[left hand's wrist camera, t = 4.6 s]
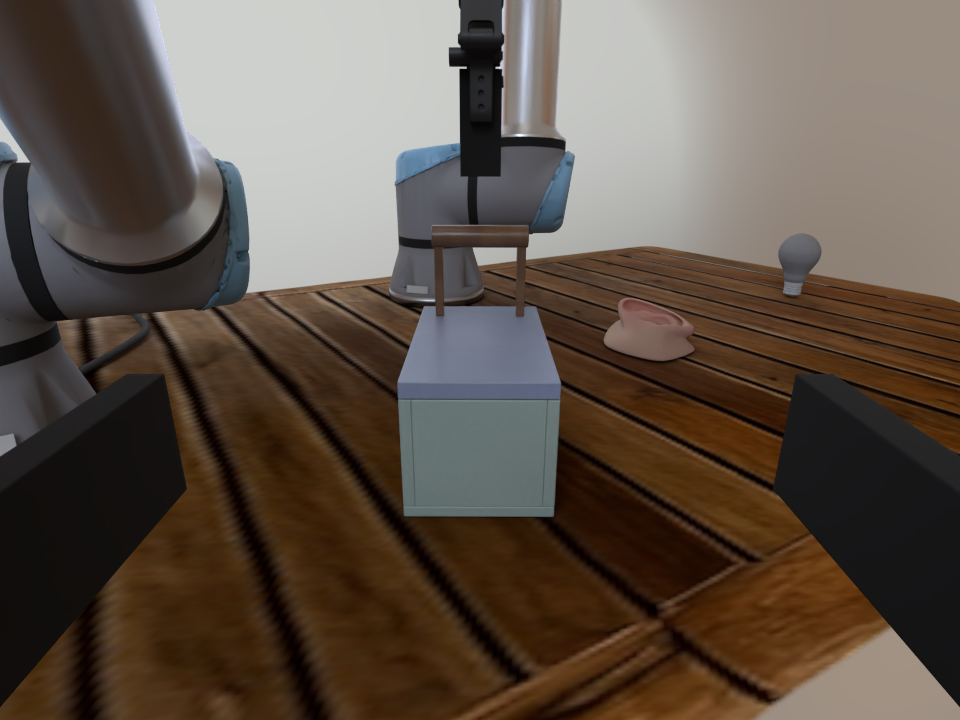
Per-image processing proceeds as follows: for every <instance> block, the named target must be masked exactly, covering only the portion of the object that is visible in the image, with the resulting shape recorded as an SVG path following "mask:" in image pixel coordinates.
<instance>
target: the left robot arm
mask: <svg viewBox="0 0 960 720" xmlns="http://www.w3.org/2000/svg"><path fill="white" fill-rule="evenodd" d="M0 119H1V120H2V121H3V123H4V124H5V126H6V127H7V129H8V130H9V132H10V133H11V135H12V136H13V138H14V139H15V140H16V142H17V143H18V145H19V146H20V148H21V149H22V151H23V152H24V154H25V155H26V157H27V158H28V160H29V161H30V163H16V161H17V155H16V154H15V153H14V152H13V151H12V150H11V148H10V146H9V145H8V144H6V143H4V142H0V707H1V706H2V704H3V703H4V702H5V701H6V700H7V699H8V697H9V696H10V695H11V694H12V693H13V692H14V690H15V689H16V688H17V687H18V686H19V685H20V683H21V682H22V681H23V680H24V679H25V678H26V676H27V675H28V674H29V673H30V672H31V671H32V669H33V668H34V667H35V666H36V665H37V663H38V662H39V661H40V660H41V659H42V658H43V656H44V655H45V654H46V653H47V652H48V651H49V649H50V648H51V647H52V646H53V645H54V644H55V642H56V641H57V640H58V639H59V638H60V637H61V635H62V634H63V633H64V632H65V631H66V630H67V628H68V627H69V626H70V625H71V624H72V623H73V621H74V620H75V619H76V618H77V617H78V616H79V614H80V613H81V612H82V611H83V610H84V609H85V607H86V606H87V605H88V604H89V603H90V601H91V600H92V599H93V598H94V597H95V596H96V594H97V593H98V592H99V591H100V590H101V589H102V587H103V586H104V585H105V584H106V583H107V582H108V580H109V579H110V578H111V577H112V576H113V575H114V573H115V572H116V571H117V570H118V569H119V568H120V566H121V565H122V564H123V563H124V562H125V561H126V559H127V558H128V557H129V556H130V555H131V554H132V552H133V551H134V550H135V549H136V548H137V547H138V545H139V544H140V543H141V542H142V541H143V540H144V538H145V537H146V536H147V535H148V534H149V532H150V531H151V530H152V529H153V528H154V527H155V525H156V524H157V523H158V522H159V521H160V520H161V518H162V517H163V516H164V515H165V514H166V513H167V511H168V510H169V509H170V508H171V507H172V506H173V504H174V503H175V502H176V501H177V500H178V499H179V497H180V496H181V495H182V494H183V493H184V492H185V490H186V489H187V487H186V482H185V477H184V472H183V467H182V462H181V457H180V452H179V447H178V442H177V437H176V432H175V427H174V422H173V417H172V412H171V407H170V402H169V397H168V392H167V387H166V382H165V377H164V374H127V375H125V376H124V377H122V378H120V379H119V380H117V381H116V382H114V383H113V384H111V385H110V386H108V387H107V388H105V389H103V390H102V391H100V392H99V393H97V394H96V393H95V391H94V390H93V388H92V387H91V386H90V384H89V383H88V381H87V380H86V379H85V377H84V376H83V375H85V374H87V373H88V372H90V371H92V370H94V369H96V368H97V367H99V366H101V365H103V364H104V363H106V362H108V361H110V360H111V359H113V358H115V357H116V356H118V355H119V354H121V353H122V352H124V351H126V350H127V349H129V348H130V347H132V346H133V345H135V344H137V343H138V342H139V341H141V340H142V339H143V338H144V337H145V336H146V335H147V333H148V332H149V324H148V322H147V321H146V320H145V319H144V318H143V317H142V316H141V314H140V313H152V312H164V311H175V310H187V309H195V310H198V311H200V310H205V309H209V308H211V307H214V306H222V305H229V304H233V303H236V302H238V301H239V300H240V299H242V298H243V296H244V295H245V293H246V291H247V287H248V282H249V271H250V259H249V253H248V250H249V227H248V215H247V206H246V199H245V193H244V187H243V182H242V178H241V175H240V173H239V171H238V169H237V168H236V167H235V166H234V165H233V164H232V163H230V162H227V161H220V160H218V159H215V158H213V157H212V156H211V154H210V153H209V152H208V150H207V149H206V148H205V147H204V146H203V145H202V144H201V143H200V142H199V141H198V140H197V139H196V138H195V137H194V136H192V135H191V134H190V133H188V132H187V131H186V128H185V124H184V120H183V116H182V112H181V108H180V104H179V100H178V96H177V91H176V87H175V84H174V79H173V75H172V71H171V67H170V63H169V59H168V55H167V51H166V47H165V43H164V39H163V35H162V31H161V27H160V23H159V19H158V15H157V11H156V7H155V3H154V0H0ZM129 314H132V315H133V316H134V317H135V319H136V321H137V322H138V323H139V324H140V325H141V326H142V328H141V330H140V332H139V333H137V334H136V335H135V336H133V337H132V338H130V339H129V340H127V341H125V342H124V343H122V344H120V345H119V346H117V347H116V348H114V349H112V350H111V351H109V352H107V353H106V354H104V355H102V356H100V357H98V358H97V359H95V360H93V361H91V362H89V363H87V364H85V365H83V366H82V367H80V368H78V367H77V366H76V365H75V363H74V362H73V360H72V359H71V358H70V356H69V355H68V353H67V352H66V351H65V349H64V347H63V344H62V340H61V337H60V333H59V330H58V326H57V321H61V320H73V319H82V318H94V317H105V316H117V315H129ZM773 489H774V490H775V492H776V493H777V494H778V495H779V496H780V497H781V499H782V500H783V501H784V502H785V503H786V504H787V506H788V507H789V508H790V509H791V510H792V511H793V513H794V514H795V515H796V516H797V517H798V518H799V520H800V521H801V522H802V523H803V524H804V525H805V527H806V528H807V529H808V530H809V531H810V532H811V534H812V535H813V536H814V537H815V538H816V540H817V541H818V542H819V543H820V544H821V545H822V547H823V548H824V549H825V550H826V551H827V552H828V554H829V555H830V556H831V557H832V558H833V559H834V561H835V562H836V563H837V564H838V565H839V566H840V568H841V569H842V570H843V571H844V572H845V573H846V575H847V576H848V577H849V578H850V579H851V580H852V582H853V583H854V584H855V585H856V586H857V587H858V589H859V590H860V591H861V592H862V593H863V594H864V596H865V597H866V598H867V599H868V600H869V601H870V603H871V604H872V605H873V606H874V607H875V609H876V610H877V611H878V612H879V613H880V614H881V616H882V617H883V618H884V619H885V620H886V621H887V623H888V624H889V625H890V626H891V627H892V628H893V630H894V631H895V632H896V633H897V634H898V635H899V637H900V638H901V639H902V640H903V641H904V642H905V644H906V645H907V646H908V647H909V648H910V649H911V651H912V652H913V653H914V654H915V655H916V656H917V658H918V659H919V660H920V661H921V662H922V663H923V665H924V666H925V667H926V668H927V669H928V671H929V672H930V673H931V674H932V675H933V676H934V677H935V679H936V680H937V681H938V682H939V683H940V685H941V686H942V687H943V688H944V689H945V690H946V692H947V693H948V694H949V695H950V696H951V697H952V699H953V700H954V701H955V702H956V703H957V704H958V706H959V707H960V456H959V455H957V454H956V453H954V452H952V451H951V450H949V449H948V448H946V447H945V446H943V445H942V444H940V443H938V442H937V441H935V440H934V439H932V438H931V437H929V436H928V435H926V434H925V433H923V432H921V431H920V430H918V429H917V428H915V427H914V426H912V425H911V424H909V423H908V422H906V421H904V420H903V419H901V418H900V417H898V416H897V415H895V414H894V413H892V412H891V411H889V410H887V409H886V408H884V407H883V406H881V405H880V404H878V403H877V402H875V401H874V400H872V399H870V398H869V397H867V396H866V395H864V394H863V393H861V392H860V391H858V390H857V389H855V388H853V387H852V386H850V385H849V384H847V383H846V382H844V381H843V380H841V379H840V378H838V377H836V376H835V375H833V374H796V377H795V382H794V387H793V392H792V397H791V402H790V407H789V412H788V417H787V422H786V427H785V432H784V437H783V442H782V447H781V452H780V457H779V462H778V467H777V472H776V477H775V482H774V487H773Z"/></svg>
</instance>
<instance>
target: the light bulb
mask: <svg viewBox="0 0 960 720" xmlns="http://www.w3.org/2000/svg"><path fill="white" fill-rule="evenodd" d="M778 255H779V260H780V263H781V265H782V268H783V271H784V280H785V283H784V284H785V285H784V290H783V293H785V294H786V295H787V296H792V297H794V296H797V295H800V294H801V289H802V288H801V287H802V285H803V282H804V281H805V280H806V278H807V275H808V273H809V272H810V270H811V269H812V268H813V267H814V266H815V265H816V264H817V262H818V261H819V259H820V256H821V247H820V244H819V242H818V241H817V240H816V239H815V238H814V237H812V236H810V235H807V234H796V235H793V236H791V237H789V238H787V239H786V240H785V241H784V242H783V243H782V245H781V246H780V249H779V254H778Z"/></svg>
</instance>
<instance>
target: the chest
mask: <svg viewBox="0 0 960 720" xmlns="http://www.w3.org/2000/svg"><path fill="white" fill-rule="evenodd" d="M398 407H399V427H400V447H401V467H402V486H403V505H404V516H457V517H553V516H554V505H555V487H556V469H557V451H558V433H559V414H560V399H399V400H398Z"/></svg>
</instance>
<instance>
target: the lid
mask: <svg viewBox="0 0 960 720" xmlns="http://www.w3.org/2000/svg"><path fill="white" fill-rule="evenodd" d="M431 241H432V247H434V266H435V306H424V308H423V311H422V314H421V317H420V320H419V323H418V325H417V328H416V331H415V334H414V337H413V340H412V343H411V345H410V348H409V351H408V354H407V357H406V360H405V363H404V365H403V368H402V371H401V374H400V377H399V380H398V383H397V387H398V399H560V396H561V382H560V378H559V375H558V372H557V369H556V366H555V363H554V360H553V357H552V354H551V351H550V348H549V345H548V342H547V339H546V336H545V333H544V330H543V327H542V324H541V321H540V318H539V315H538V312H537V309H536V307H524V299H525V266H526V248H527V247H528V242H529V227H528V225H432V228H431ZM443 247H517V268H516V307H499V306H444V272H443Z"/></svg>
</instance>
